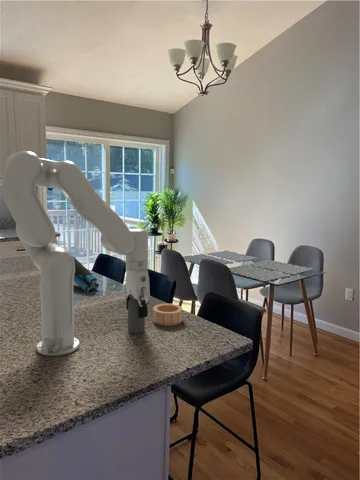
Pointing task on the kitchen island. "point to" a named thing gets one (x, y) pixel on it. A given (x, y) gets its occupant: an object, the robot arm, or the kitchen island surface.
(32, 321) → the kitchen island surface
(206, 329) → the kitchen island surface
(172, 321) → the segmented wooden bowl
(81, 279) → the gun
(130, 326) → the bottle
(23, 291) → the kitchen island surface
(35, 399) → the kitchen island surface
